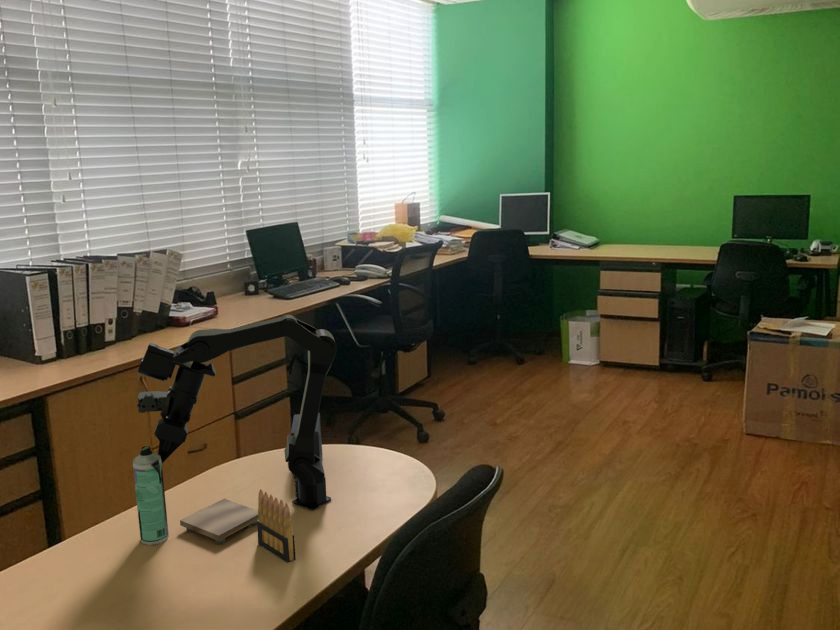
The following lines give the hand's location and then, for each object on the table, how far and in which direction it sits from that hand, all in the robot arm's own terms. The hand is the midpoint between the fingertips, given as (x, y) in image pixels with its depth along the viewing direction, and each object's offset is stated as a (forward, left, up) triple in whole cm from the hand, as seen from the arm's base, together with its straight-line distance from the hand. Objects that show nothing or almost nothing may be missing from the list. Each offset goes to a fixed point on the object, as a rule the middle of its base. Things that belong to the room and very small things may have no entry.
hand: (161, 454), depth 166 cm
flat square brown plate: (-13, -4, -15) cm, 20 cm away
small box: (-7, -37, -15) cm, 40 cm away
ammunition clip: (-30, -3, -15) cm, 34 cm away
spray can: (-5, +7, -15) cm, 17 cm away
